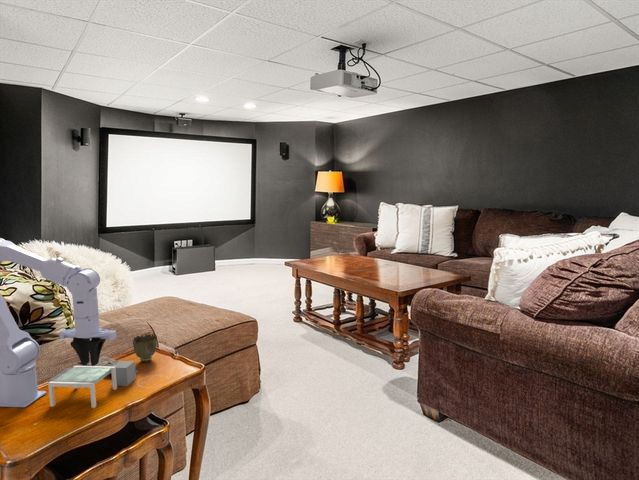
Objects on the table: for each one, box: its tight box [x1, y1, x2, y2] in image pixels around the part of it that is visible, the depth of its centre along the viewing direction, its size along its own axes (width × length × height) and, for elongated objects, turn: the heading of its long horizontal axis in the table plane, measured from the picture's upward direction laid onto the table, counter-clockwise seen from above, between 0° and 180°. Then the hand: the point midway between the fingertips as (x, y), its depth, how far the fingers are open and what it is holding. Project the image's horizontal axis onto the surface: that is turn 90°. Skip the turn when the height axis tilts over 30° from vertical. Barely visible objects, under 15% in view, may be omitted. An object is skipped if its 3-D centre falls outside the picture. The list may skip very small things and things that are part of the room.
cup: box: [131, 333, 158, 363], centre depth 138 cm, size 8×7×8 cm
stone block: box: [110, 360, 137, 387], centre depth 123 cm, size 5×5×6 cm
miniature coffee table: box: [47, 365, 118, 409], centre depth 114 cm, size 12×11×6 cm
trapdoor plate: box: [47, 366, 111, 385], centre depth 114 cm, size 12×8×2 cm
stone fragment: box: [77, 356, 139, 373], centre depth 134 cm, size 25×3×10 cm
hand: (90, 364), depth 113 cm, fingers closed
